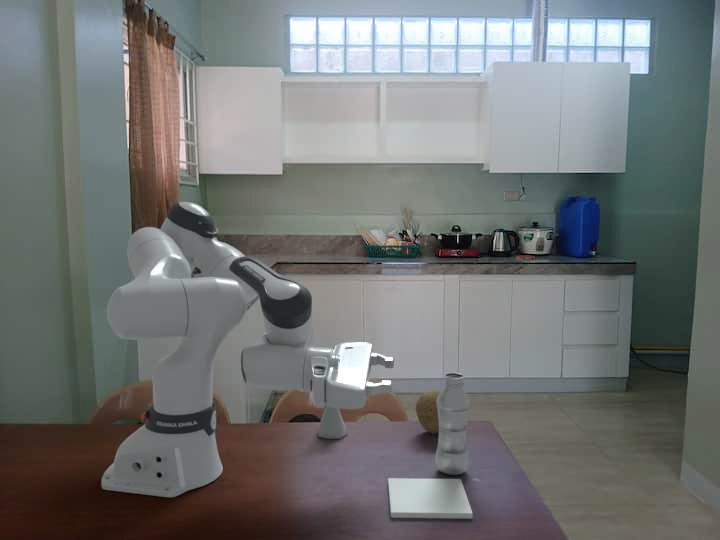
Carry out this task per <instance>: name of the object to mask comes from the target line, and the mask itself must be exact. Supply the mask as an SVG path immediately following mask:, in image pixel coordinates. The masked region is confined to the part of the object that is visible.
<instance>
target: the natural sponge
mask: <svg viewBox="0 0 720 540" xmlns="http://www.w3.org/2000/svg"><path fill="white" fill-rule="evenodd" d="M440 392H441V391H438V390H431V391H427V392H425V393H423V394H422V395H421V396H420V397H419V398H418V399H417V401H416V404H415V413H416V416H417V419H418V422H419V423H420V426H421V427H422V428H423V429H424V430H425V431H426V432H427V433H429V434H430V435H437V434H439V418H438V410H437V397H438V395H439V394H440Z"/></svg>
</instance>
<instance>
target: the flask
mask: <svg viewBox="0 0 720 540" xmlns="http://www.w3.org/2000/svg"><path fill="white" fill-rule="evenodd" d="M321 416H322V417H321V420H320V422H319V426H318V427H317V430H316V433H317V437H320V438H322V439H327V440H332V439H333V440H334V439H342V438H344V437H345V436H347V435H348V431H347V427H346V424H345V422H344V419H343V416H342V413H341V409H340V408H332V407H329V406H327V404H326V405H325V407H324V411H323V414H322V415H321Z"/></svg>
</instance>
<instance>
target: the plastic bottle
mask: <svg viewBox="0 0 720 540" xmlns="http://www.w3.org/2000/svg"><path fill="white" fill-rule="evenodd" d="M464 379H465V376H464V375H463V374H462V373H458V372H448V373H445V375H444V381H443V385H444V387H443V389H442V390H440V391H439V392H440V394H439V395H438V397H437V410H438V418H439V433H438V439H437V447H436V451H435V457H434V459H435V465H436V468H437V469H438V470H439V472H440V473H442V474H445V475H450V476H459V475H462V474H464V473H466V471H467V469H468V468H469V463H470V459H469V457H470V456H469V451H468V443H467V442H468V441H467V428H468V418H469V413H470V407H471V401H470V397H469V395H468V393H467V392H466V390H465V389H464V388H463V387H464V386H465V380H464Z"/></svg>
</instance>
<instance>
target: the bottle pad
mask: <svg viewBox="0 0 720 540" xmlns="http://www.w3.org/2000/svg"><path fill="white" fill-rule="evenodd" d="M387 486H388V499H389V508H390V518H391V519H399V518H401V519H464V520H466V519H469V520H470V519H473V511H472V507H471V504H470V502H469V499H468V496H467V493H466V490H465V486H464V484H463V481H462V479H461V478H410V477H409V478H402V477H401V478H393V477H391V478H390V477H388V479H387Z"/></svg>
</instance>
